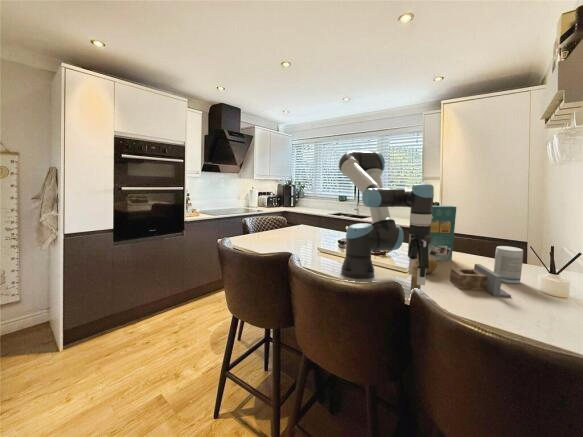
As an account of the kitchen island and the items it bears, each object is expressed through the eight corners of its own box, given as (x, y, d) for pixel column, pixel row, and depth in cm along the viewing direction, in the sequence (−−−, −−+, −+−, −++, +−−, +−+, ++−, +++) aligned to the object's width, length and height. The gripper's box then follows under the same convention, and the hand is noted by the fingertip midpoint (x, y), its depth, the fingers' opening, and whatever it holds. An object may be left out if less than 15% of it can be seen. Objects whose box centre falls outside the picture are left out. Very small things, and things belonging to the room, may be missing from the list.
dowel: (411, 292, 108) (414, 263, 106) (409, 289, 111) (411, 260, 109) (421, 293, 107) (423, 263, 105) (418, 289, 110) (420, 261, 109)
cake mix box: (446, 257, 159) (451, 205, 155) (451, 260, 153) (456, 206, 149) (407, 256, 161) (411, 205, 157) (411, 258, 155) (414, 206, 151)
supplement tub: (525, 283, 119) (530, 250, 116) (508, 285, 116) (512, 251, 114) (503, 275, 128) (507, 245, 126) (487, 277, 126) (490, 246, 124)
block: (459, 289, 112) (460, 274, 111) (449, 281, 120) (451, 268, 120) (485, 290, 110) (487, 276, 109) (474, 282, 119) (475, 269, 118)
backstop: (493, 296, 105) (495, 276, 104) (472, 281, 120) (474, 263, 119) (510, 297, 104) (513, 277, 103) (487, 282, 120) (489, 264, 118)
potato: (425, 267, 140) (426, 252, 139) (441, 276, 126) (443, 260, 125) (406, 267, 140) (408, 252, 138) (421, 276, 126) (422, 260, 125)
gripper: (442, 230, 93) (437, 291, 96) (421, 220, 116) (417, 270, 119) (419, 229, 94) (414, 290, 97) (402, 220, 117) (399, 269, 120)
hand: (416, 279), depth 108 cm, fingers open, 11 cm apart
